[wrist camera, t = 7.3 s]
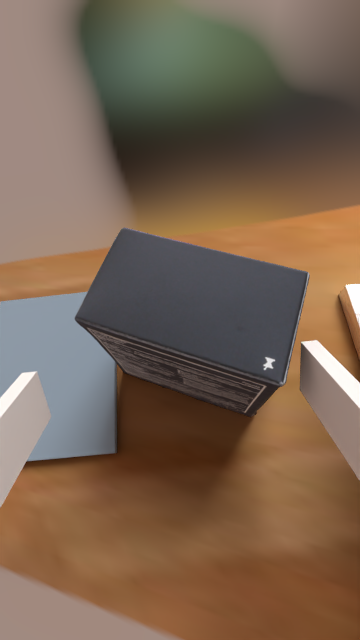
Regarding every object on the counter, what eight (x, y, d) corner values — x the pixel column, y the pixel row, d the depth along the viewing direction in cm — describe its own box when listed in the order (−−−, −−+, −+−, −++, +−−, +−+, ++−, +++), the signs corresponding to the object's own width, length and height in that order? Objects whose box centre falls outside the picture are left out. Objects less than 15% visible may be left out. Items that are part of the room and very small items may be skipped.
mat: (116, 292, 28) (114, 288, 27) (117, 453, 23) (114, 452, 22) (4, 304, 28) (0, 301, 28) (-20, 465, 23) (-26, 465, 22)
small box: (274, 338, 25) (317, 266, 15) (254, 419, 23) (289, 394, 13) (151, 302, 27) (121, 218, 18) (121, 374, 25) (67, 322, 15)
